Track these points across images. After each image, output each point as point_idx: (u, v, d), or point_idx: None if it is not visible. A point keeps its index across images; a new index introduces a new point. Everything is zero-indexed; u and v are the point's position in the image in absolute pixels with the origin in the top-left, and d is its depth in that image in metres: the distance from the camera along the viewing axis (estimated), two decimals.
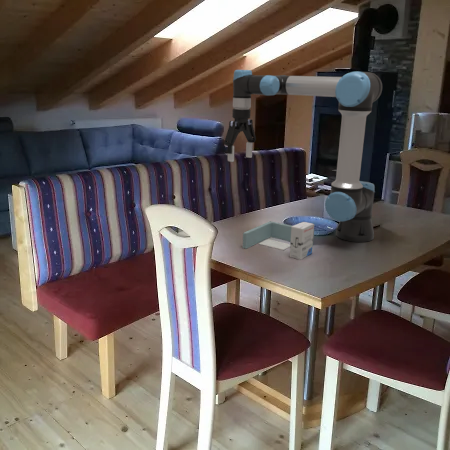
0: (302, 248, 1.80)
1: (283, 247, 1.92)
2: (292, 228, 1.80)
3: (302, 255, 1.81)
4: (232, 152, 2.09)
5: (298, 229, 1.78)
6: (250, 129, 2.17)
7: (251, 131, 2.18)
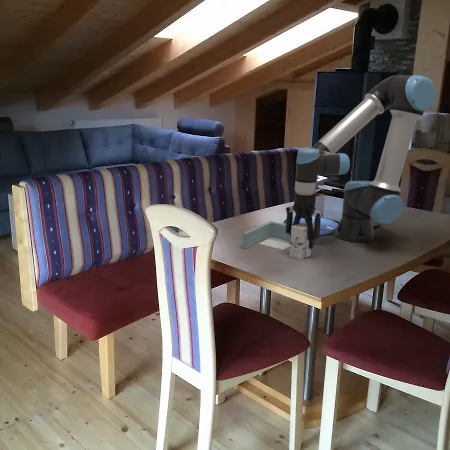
0: (302, 248, 1.80)
1: (283, 247, 1.92)
2: (292, 228, 1.80)
3: (303, 255, 1.81)
4: None
5: (298, 229, 1.78)
6: None
7: None
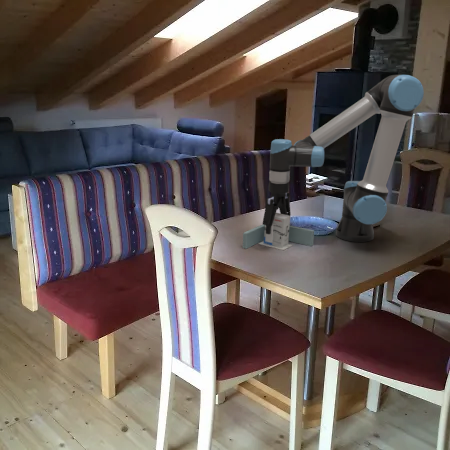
0: None
1: (283, 247, 1.92)
2: (284, 219, 1.89)
3: None
4: (271, 232, 1.89)
5: (288, 218, 1.90)
6: (286, 203, 1.95)
7: (287, 206, 1.96)
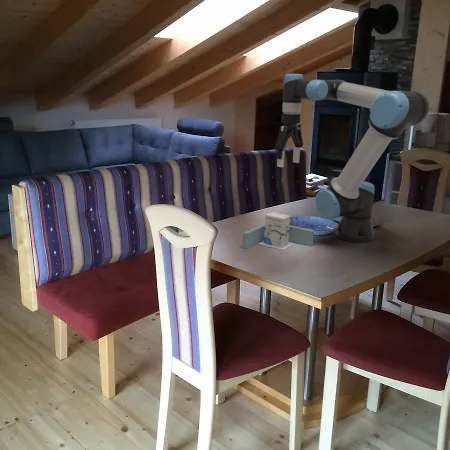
0: None
1: (283, 247, 1.92)
2: (284, 220, 1.88)
3: None
4: (282, 157, 2.05)
5: (288, 218, 1.90)
6: (298, 134, 2.14)
7: (299, 136, 2.15)
